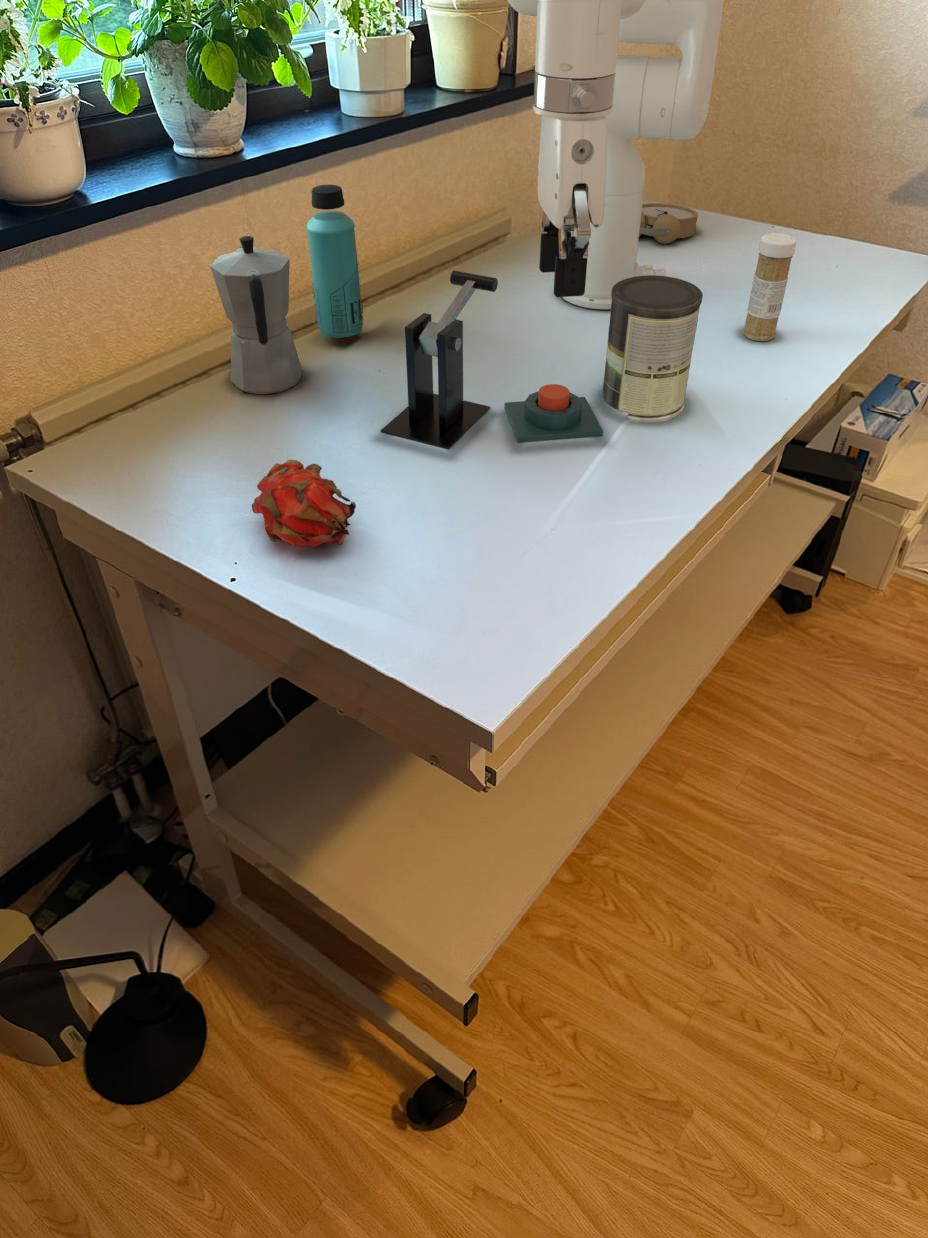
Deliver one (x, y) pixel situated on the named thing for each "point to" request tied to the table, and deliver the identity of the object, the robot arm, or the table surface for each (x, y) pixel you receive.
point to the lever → (454, 307)
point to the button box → (552, 420)
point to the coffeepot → (258, 318)
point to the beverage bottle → (334, 265)
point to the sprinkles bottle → (769, 286)
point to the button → (553, 397)
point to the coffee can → (650, 346)
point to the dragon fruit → (302, 506)
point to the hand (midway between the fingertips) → (561, 281)
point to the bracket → (428, 412)
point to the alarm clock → (667, 222)
